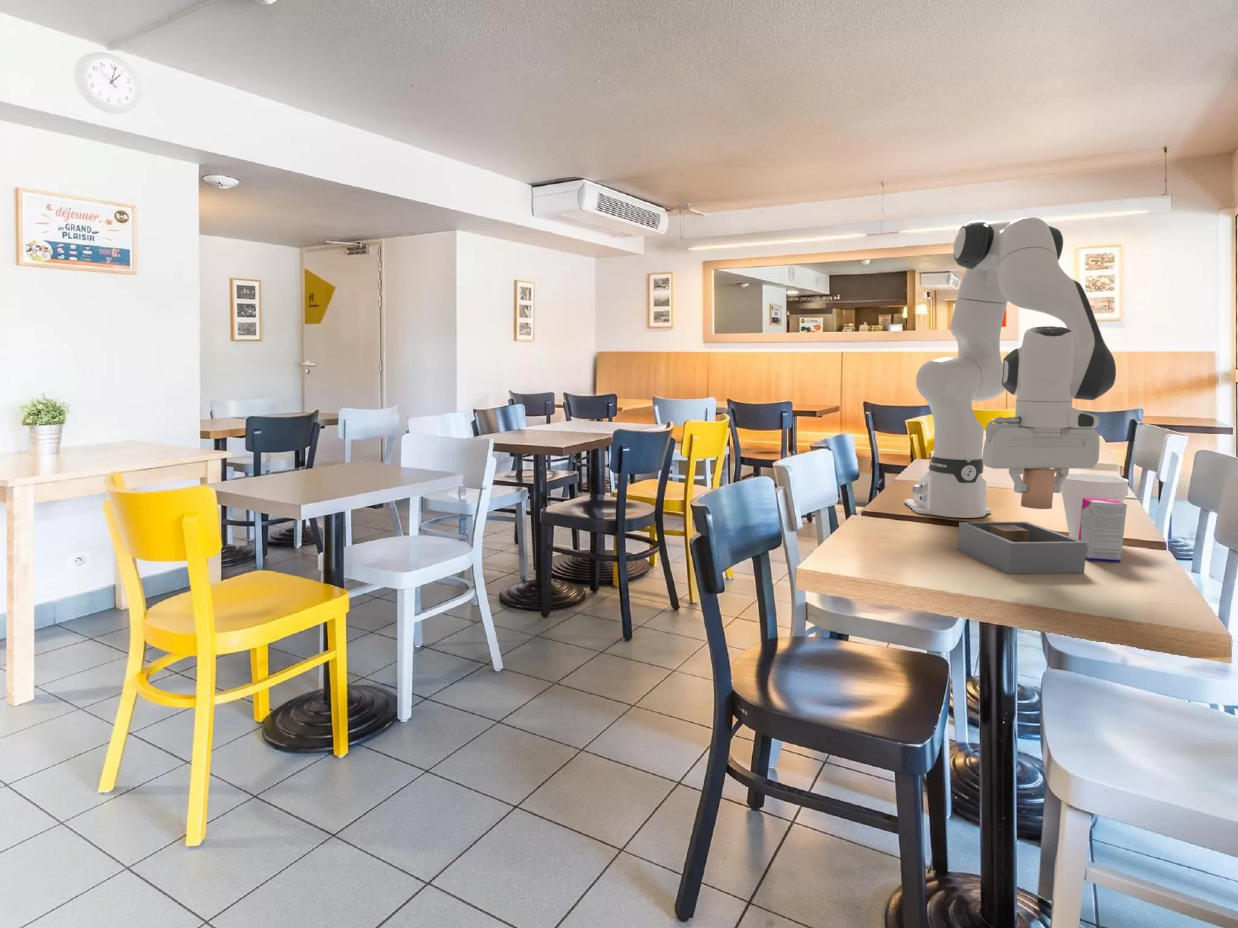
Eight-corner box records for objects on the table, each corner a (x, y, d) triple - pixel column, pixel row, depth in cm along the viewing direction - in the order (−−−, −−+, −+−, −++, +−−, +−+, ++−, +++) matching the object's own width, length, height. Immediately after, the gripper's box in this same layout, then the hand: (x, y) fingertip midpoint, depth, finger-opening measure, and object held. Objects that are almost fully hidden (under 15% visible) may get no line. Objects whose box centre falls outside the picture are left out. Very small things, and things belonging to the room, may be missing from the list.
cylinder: (1031, 509, 133) (1034, 470, 132) (1015, 504, 138) (1017, 467, 137) (1058, 508, 134) (1061, 470, 133) (1040, 503, 139) (1043, 467, 138)
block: (1001, 556, 142) (1003, 530, 142) (987, 549, 147) (989, 525, 147) (1026, 555, 143) (1028, 530, 142) (1011, 549, 148) (1013, 524, 147)
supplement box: (1122, 563, 140) (1127, 503, 139) (1087, 561, 141) (1093, 502, 140) (1108, 555, 146) (1114, 498, 144) (1075, 553, 147) (1080, 497, 146)
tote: (957, 549, 150) (959, 522, 149) (1023, 548, 151) (1026, 521, 150) (1008, 573, 132) (1011, 543, 132) (1084, 573, 133) (1086, 542, 132)
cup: (1134, 549, 151) (1141, 483, 149) (1068, 546, 153) (1074, 481, 151) (1106, 535, 163) (1112, 474, 161) (1046, 533, 165) (1051, 472, 163)
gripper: (997, 418, 130) (992, 495, 132) (1108, 418, 131) (1101, 494, 133) (977, 416, 136) (973, 490, 138) (1083, 415, 138) (1077, 489, 139)
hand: (1037, 492), depth 136 cm, fingers closed on cylinder, 5 cm apart
